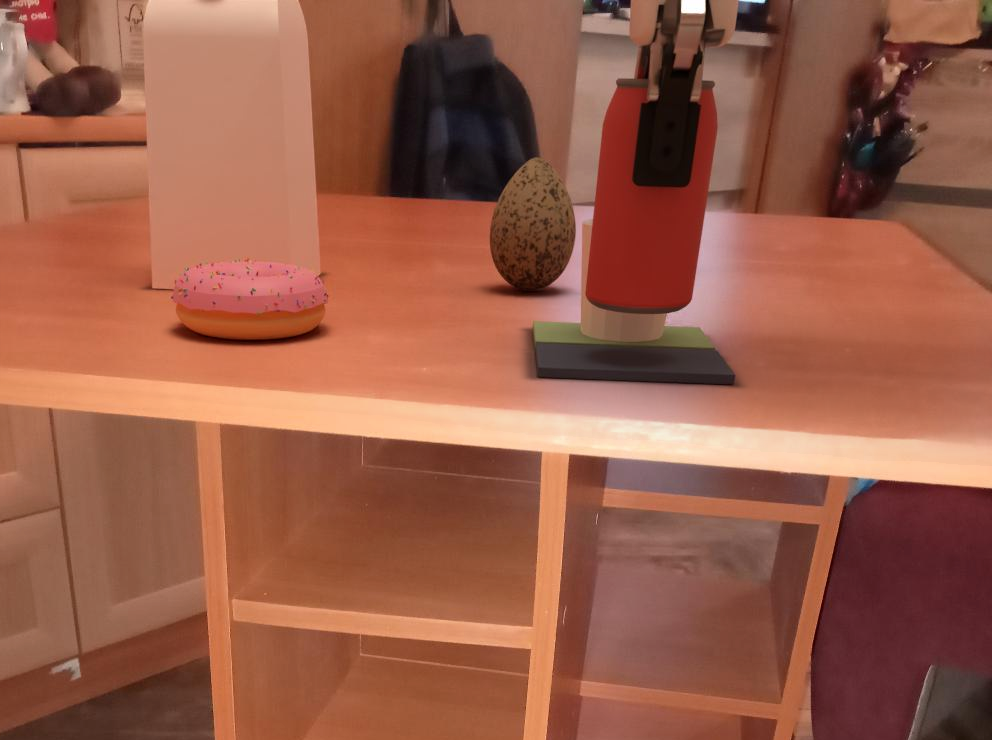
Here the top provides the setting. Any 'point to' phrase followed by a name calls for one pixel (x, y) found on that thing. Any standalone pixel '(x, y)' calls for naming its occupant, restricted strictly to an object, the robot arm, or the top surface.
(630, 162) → the beer can
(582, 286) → the cup
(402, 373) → the top surface
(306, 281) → the doughnut
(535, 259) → the decorative egg
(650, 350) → the slate mat
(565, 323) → the sage mat
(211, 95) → the milk
